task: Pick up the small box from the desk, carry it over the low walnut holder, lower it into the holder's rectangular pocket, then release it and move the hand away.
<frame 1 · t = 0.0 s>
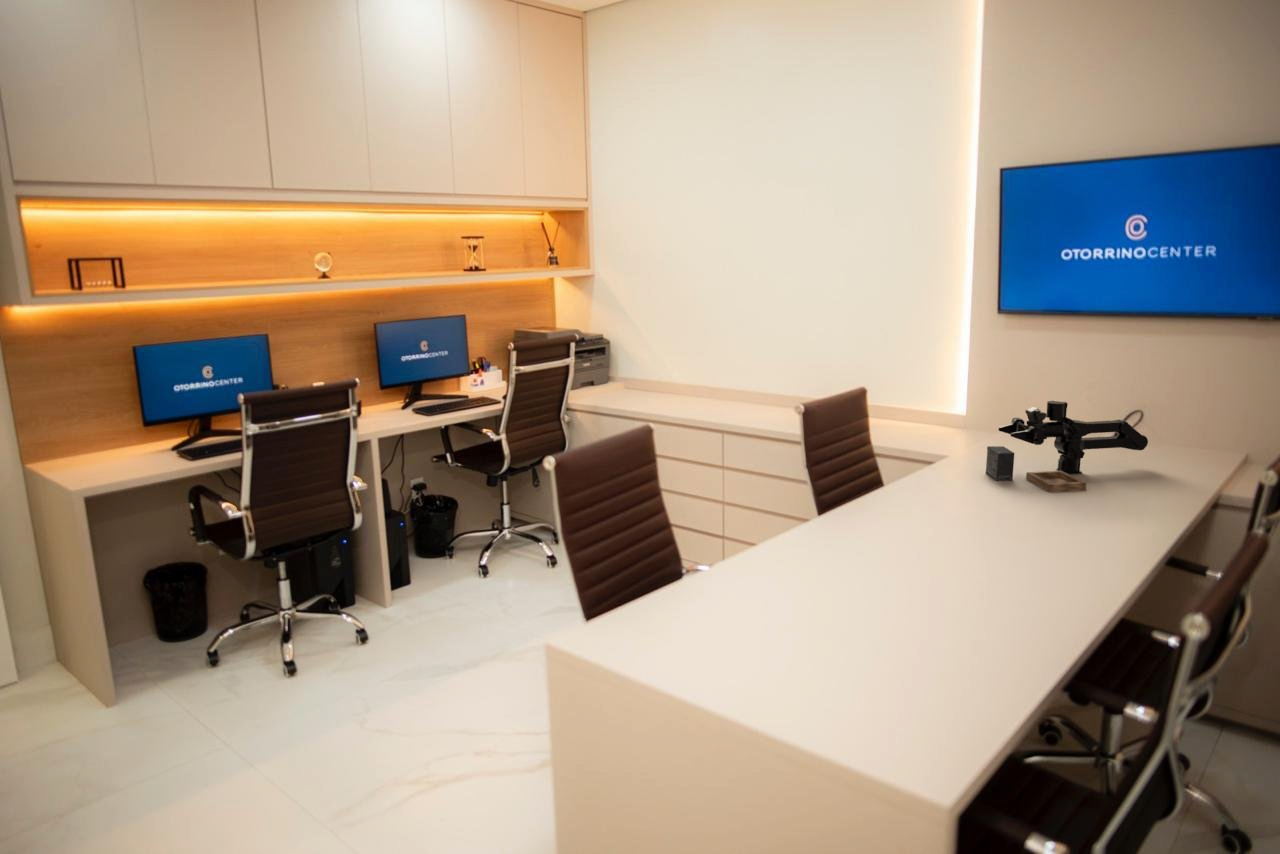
hand: (1004, 432, 311), 17 cm above the table, tool horizontal, fingers open, 9 cm apart
walnut holder: (1055, 484, 301), on the table
small box: (999, 477, 313), on the table
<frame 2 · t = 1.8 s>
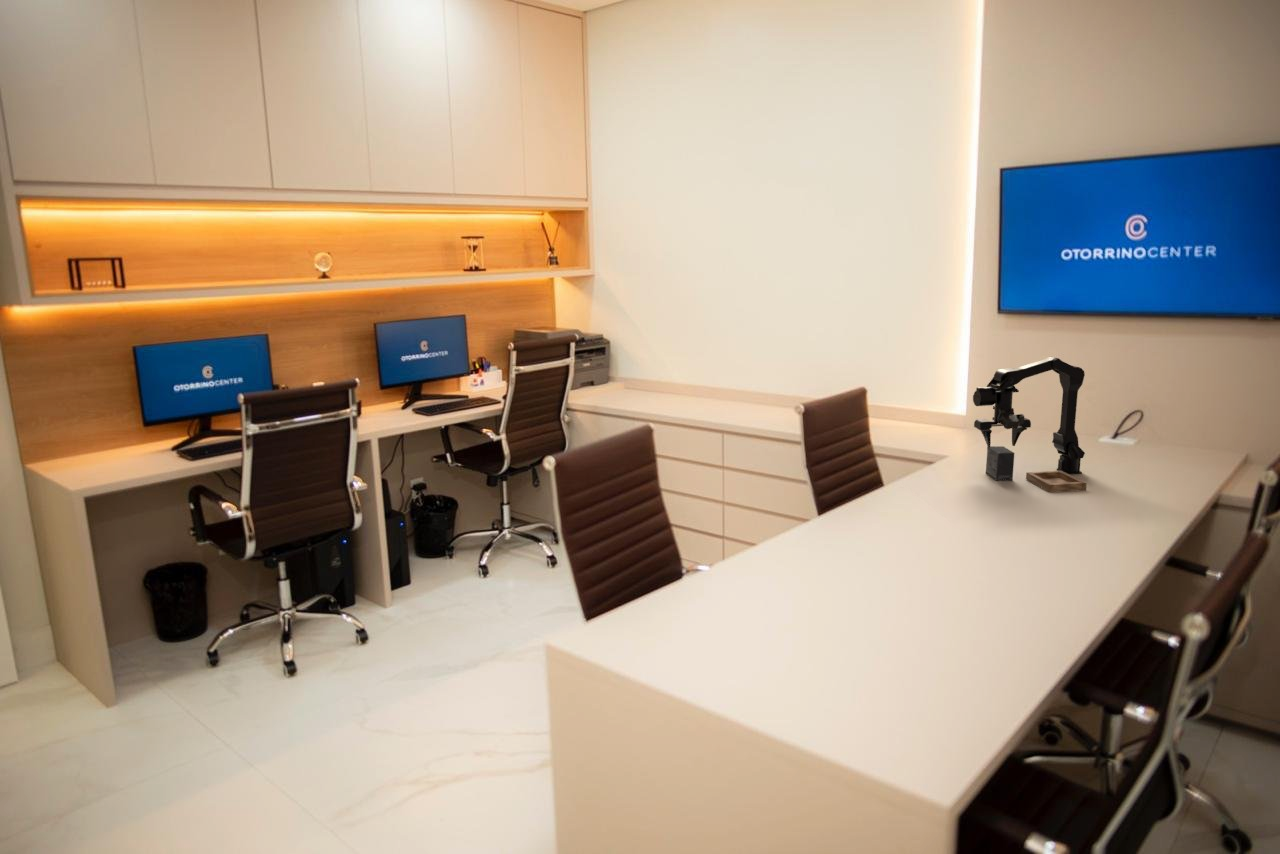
hand: (1001, 446, 311), 11 cm above the table, tool pointing down, fingers open, 9 cm apart
nothing on the table moved.
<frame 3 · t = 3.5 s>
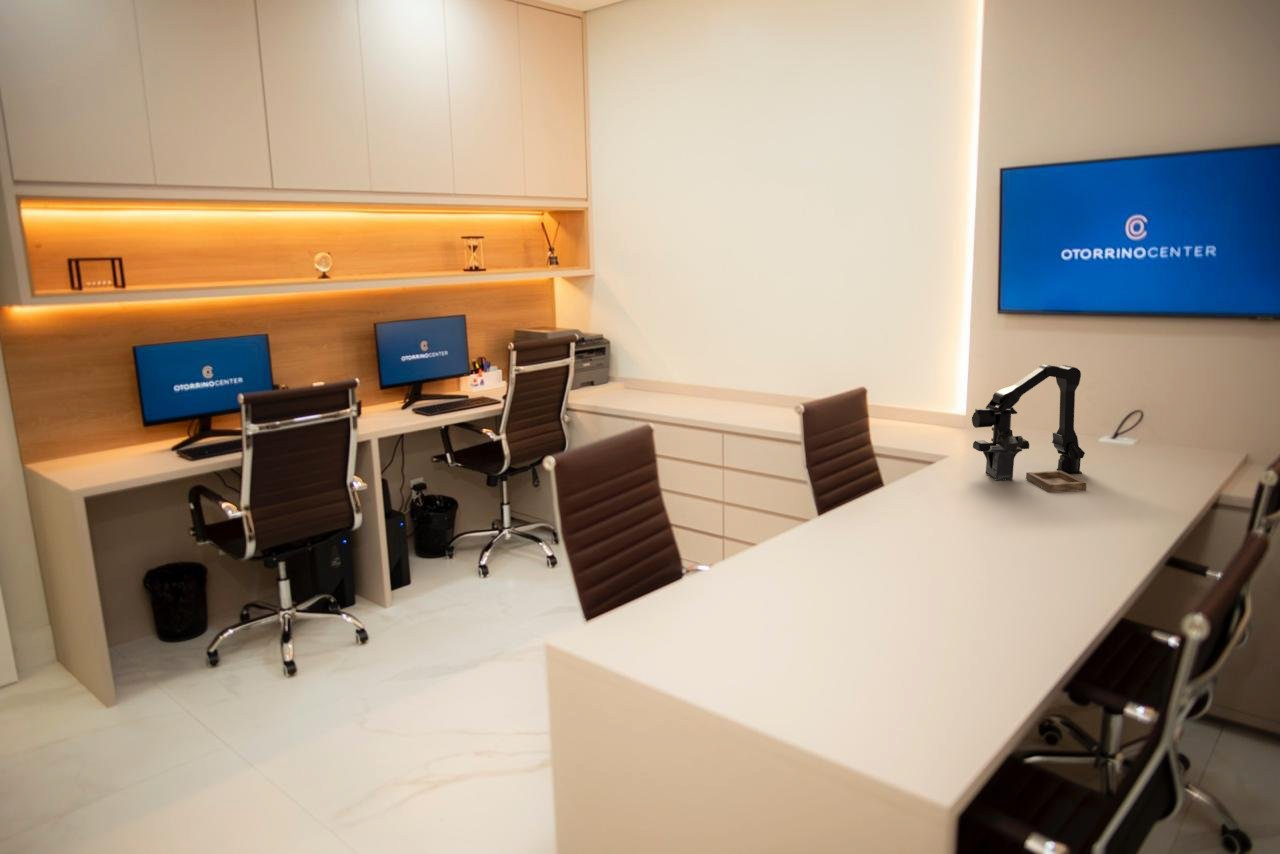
hand: (999, 467, 313), 4 cm above the table, tool pointing down, fingers closed on small box, 6 cm apart
small box: (999, 477, 313), on the table, touching gripper
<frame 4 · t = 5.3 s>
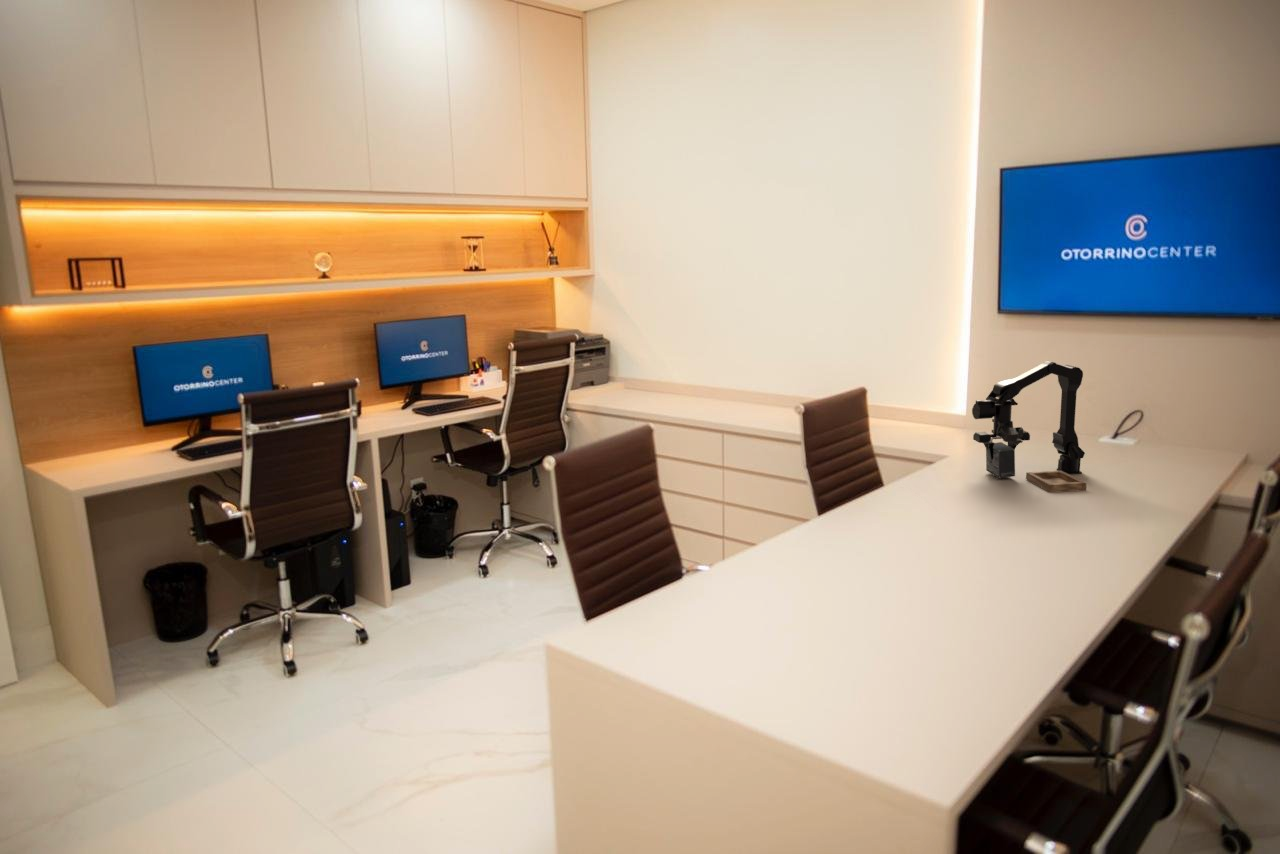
hand: (1000, 459, 312), 7 cm above the table, tool pointing down, fingers closed on small box, 6 cm apart
small box: (1000, 473, 313), point 1 cm above the table, touching gripper
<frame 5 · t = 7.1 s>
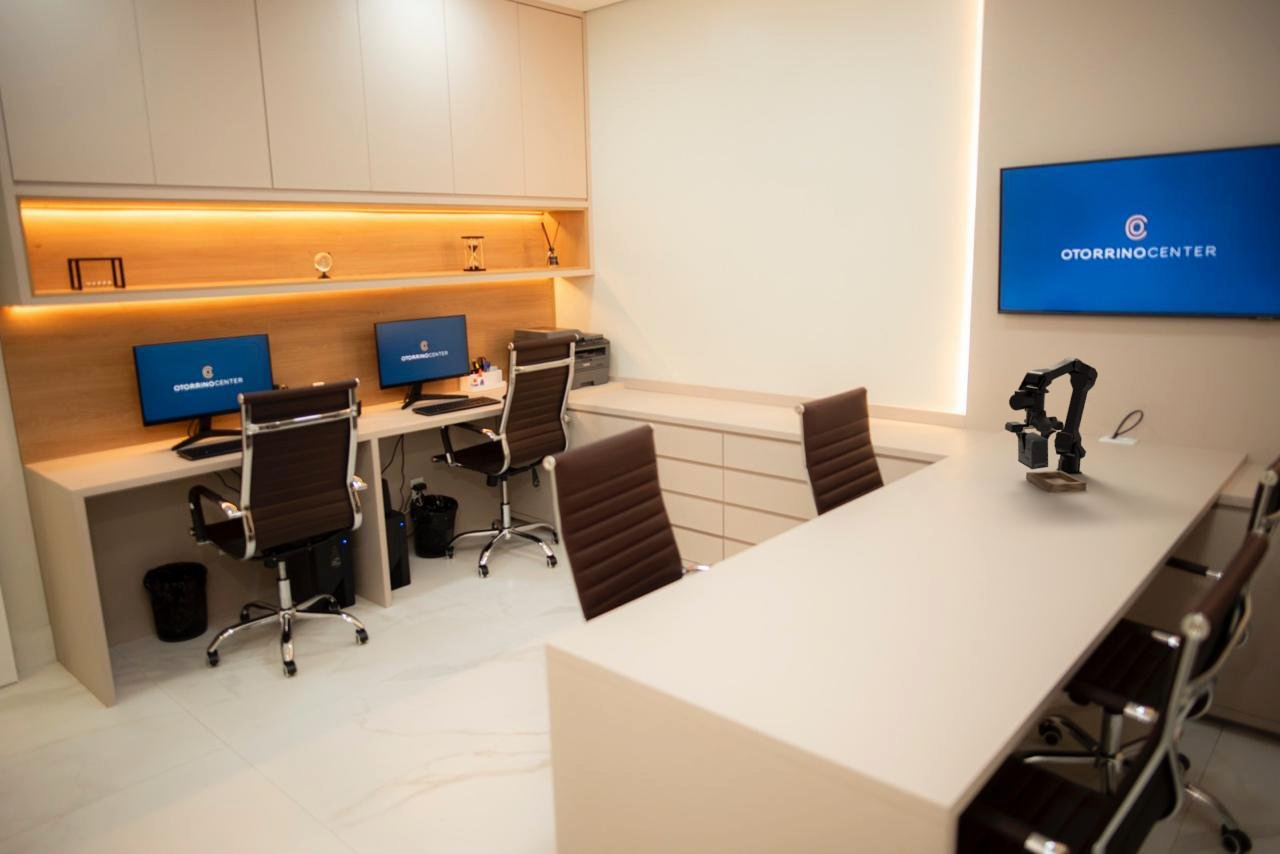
hand: (1033, 449, 304), 12 cm above the table, tool pointing down, fingers closed on small box, 6 cm apart
small box: (1033, 464, 306), point 6 cm above the table, touching gripper
when the fingers open (7 cm above the table, at t = 8.9 s): small box stays where it is, resting on walnut holder.
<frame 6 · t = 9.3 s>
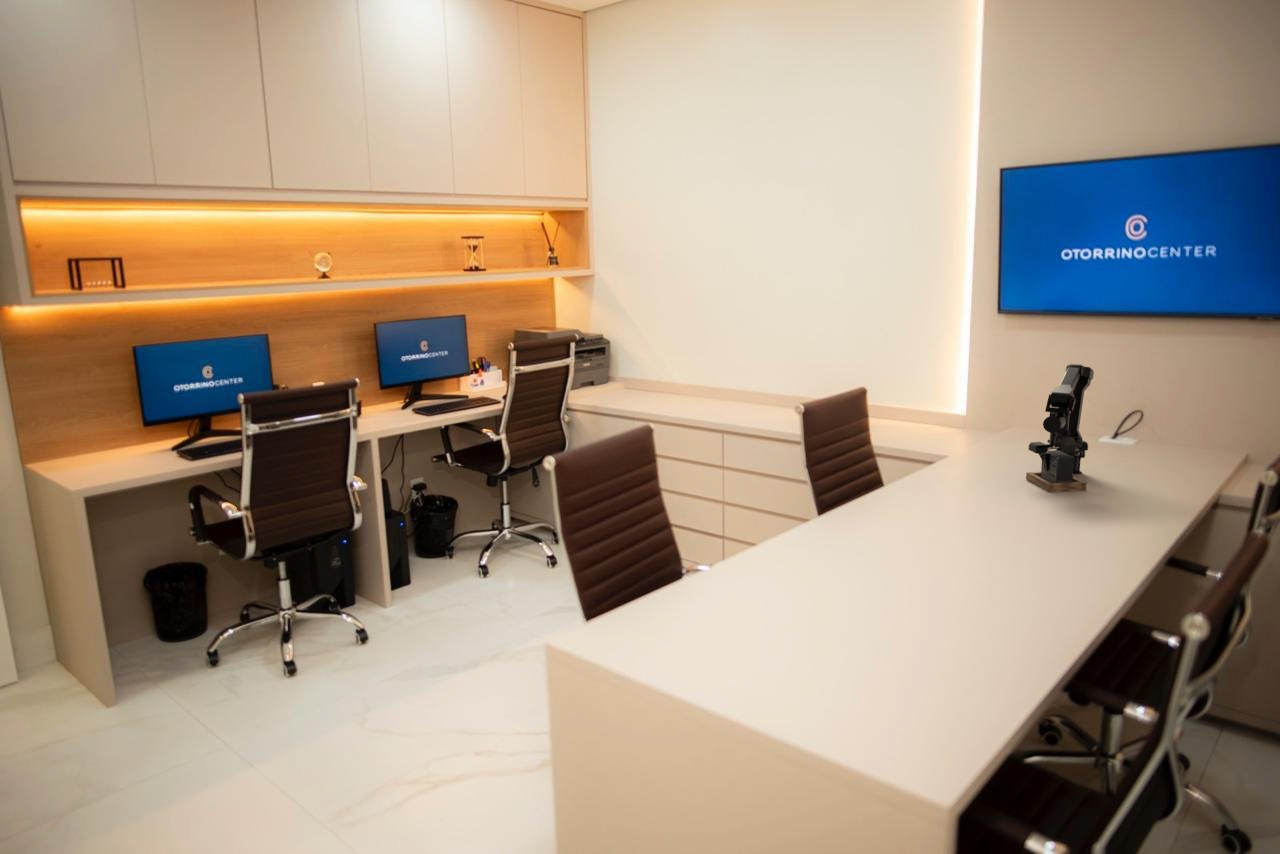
hand: (1056, 469, 300), 5 cm above the table, tool pointing down, fingers open, 7 cm apart
small box: (1056, 482, 302), point 1 cm above the table, touching gripper, walnut holder
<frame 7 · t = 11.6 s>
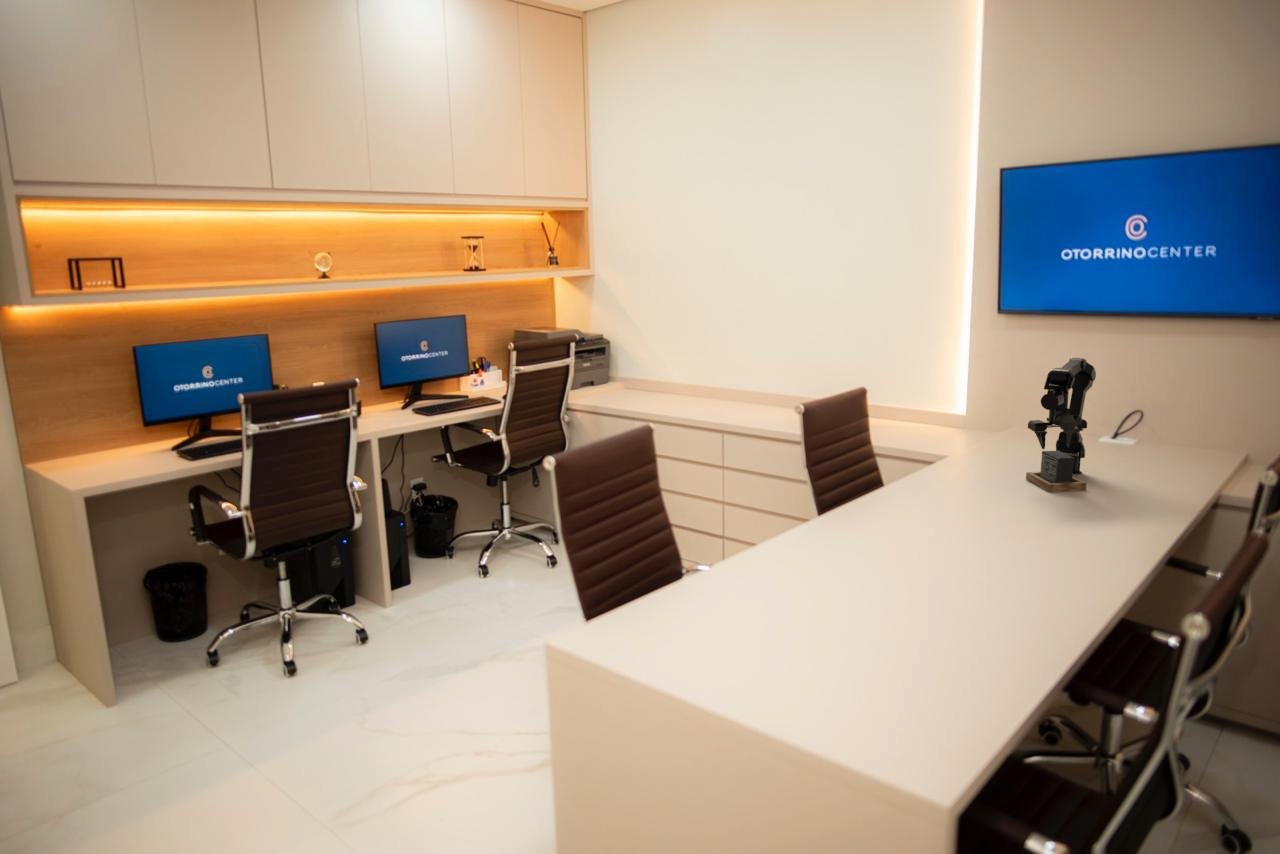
hand: (1055, 448, 300), 13 cm above the table, tool pointing down, fingers open, 9 cm apart
small box: (1055, 483, 302), resting on walnut holder
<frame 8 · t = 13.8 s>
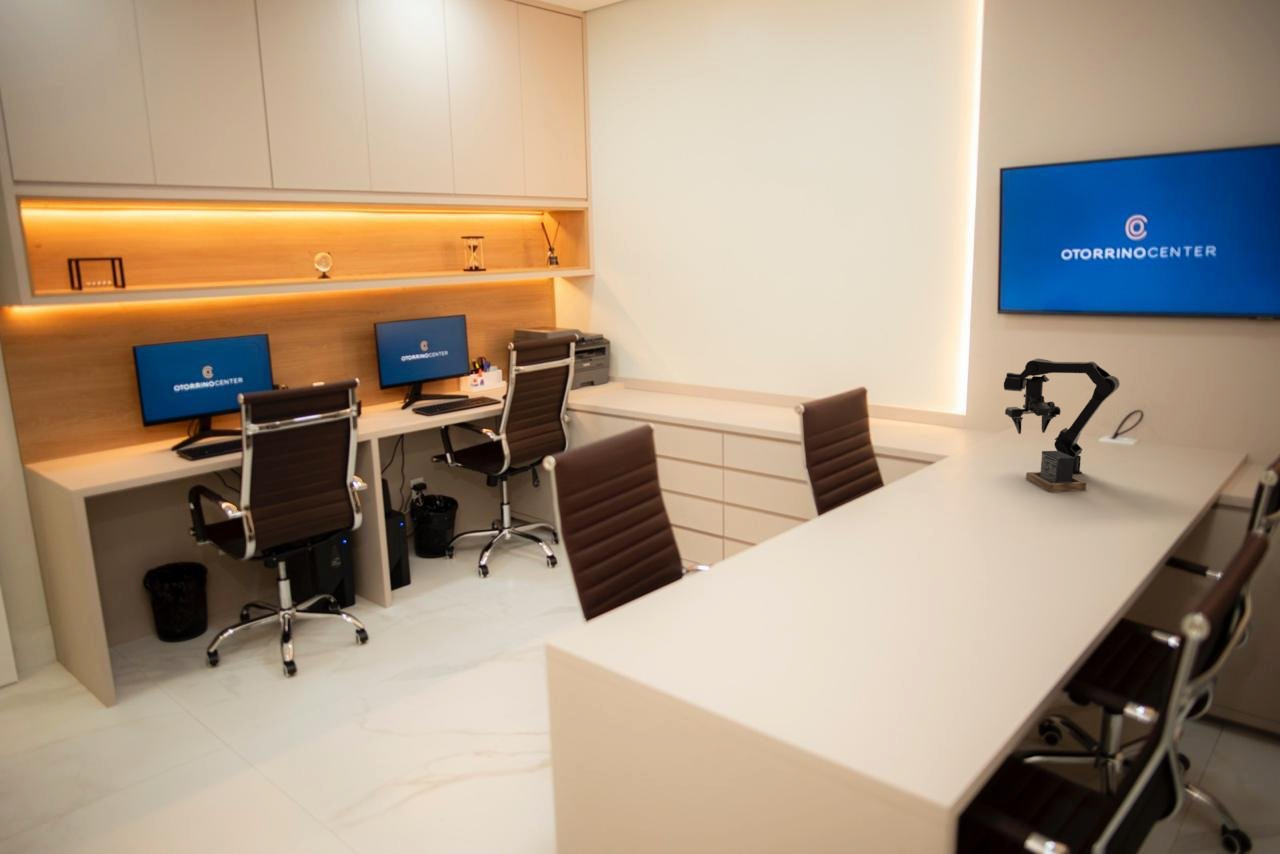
hand: (1031, 433, 322), 13 cm above the table, tool pointing down, fingers open, 9 cm apart
nothing on the table moved.
at the end: small box 0.6 cm off-centre on the walnut holder, point 0.4 cm above the walnut holder's base; small box tilted 0°; the gripper is holding nothing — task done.
